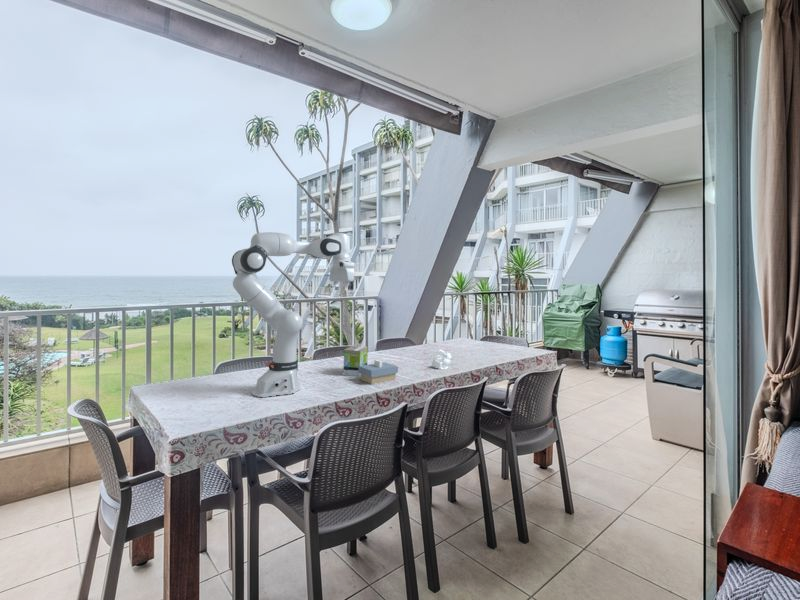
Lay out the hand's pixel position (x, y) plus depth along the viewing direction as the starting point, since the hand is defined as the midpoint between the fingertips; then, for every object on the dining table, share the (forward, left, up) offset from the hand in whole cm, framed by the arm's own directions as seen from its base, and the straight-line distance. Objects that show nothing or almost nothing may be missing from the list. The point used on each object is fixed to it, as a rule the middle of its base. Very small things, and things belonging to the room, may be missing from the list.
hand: (341, 290), depth 207 cm
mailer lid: (+16, -11, -44) cm, 48 cm away
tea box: (+14, +9, -48) cm, 51 cm away
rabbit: (+63, -11, -48) cm, 80 cm away
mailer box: (+16, -11, -48) cm, 52 cm away
